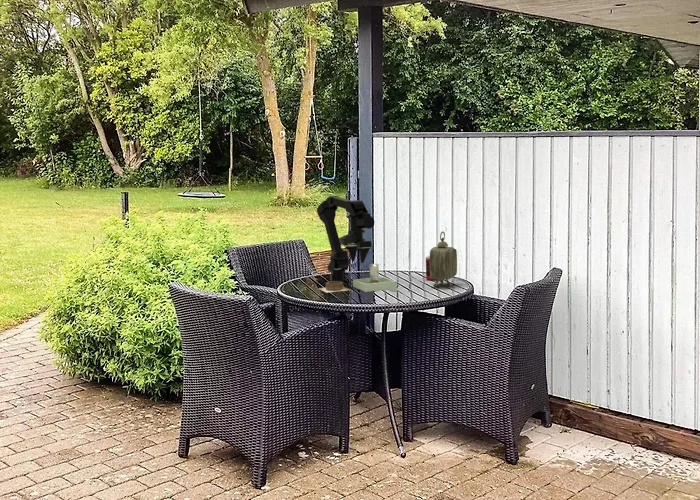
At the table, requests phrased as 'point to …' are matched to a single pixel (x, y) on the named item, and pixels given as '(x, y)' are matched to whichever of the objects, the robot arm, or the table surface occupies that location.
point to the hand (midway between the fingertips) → (357, 262)
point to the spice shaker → (374, 273)
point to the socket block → (334, 287)
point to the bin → (375, 284)
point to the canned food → (428, 269)
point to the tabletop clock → (443, 262)
